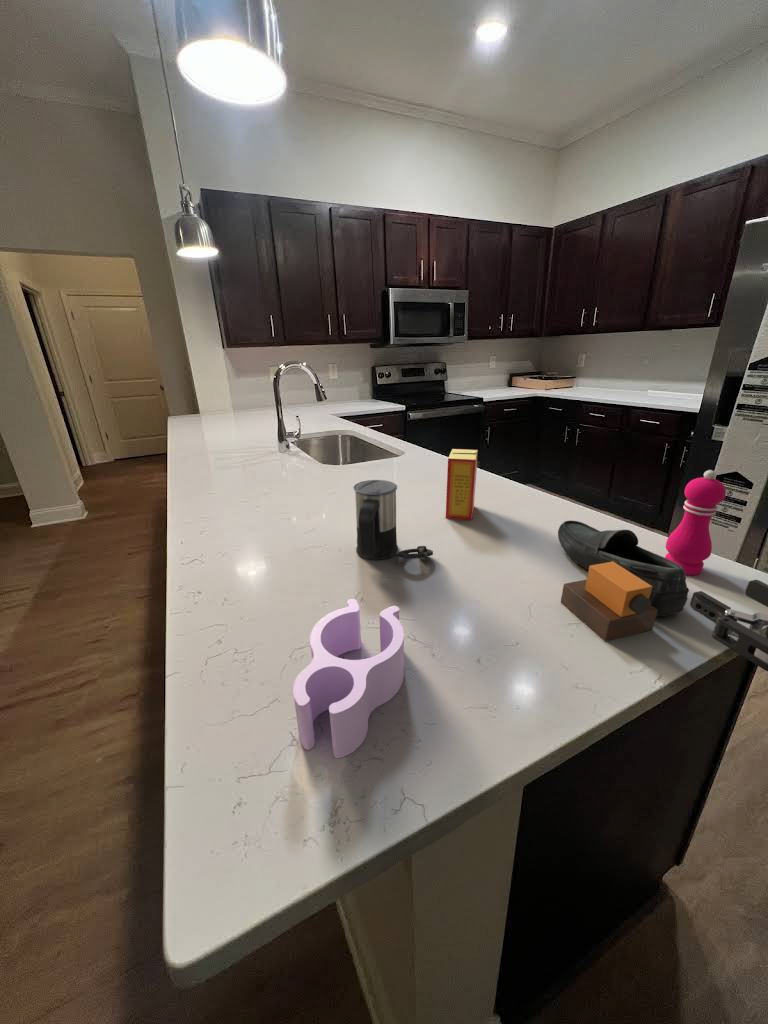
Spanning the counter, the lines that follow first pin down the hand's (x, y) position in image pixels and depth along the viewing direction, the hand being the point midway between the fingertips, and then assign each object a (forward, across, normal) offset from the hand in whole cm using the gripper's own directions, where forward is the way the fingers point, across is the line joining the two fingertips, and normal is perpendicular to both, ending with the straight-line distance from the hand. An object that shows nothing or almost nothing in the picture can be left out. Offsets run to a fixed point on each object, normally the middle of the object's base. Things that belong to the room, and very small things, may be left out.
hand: (721, 592), depth 50 cm
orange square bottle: (+14, 0, +8) cm, 16 cm away
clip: (+12, +43, +15) cm, 47 cm away
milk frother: (+46, +27, +15) cm, 55 cm away
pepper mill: (+24, -26, +14) cm, 38 cm away
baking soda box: (+63, +4, +14) cm, 64 cm away
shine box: (+15, 0, +14) cm, 21 cm away
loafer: (+25, -11, +15) cm, 31 cm away
